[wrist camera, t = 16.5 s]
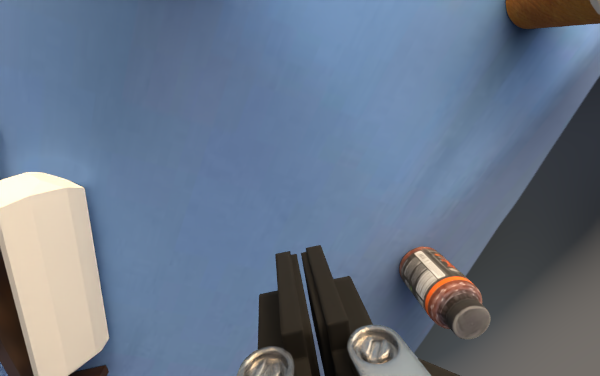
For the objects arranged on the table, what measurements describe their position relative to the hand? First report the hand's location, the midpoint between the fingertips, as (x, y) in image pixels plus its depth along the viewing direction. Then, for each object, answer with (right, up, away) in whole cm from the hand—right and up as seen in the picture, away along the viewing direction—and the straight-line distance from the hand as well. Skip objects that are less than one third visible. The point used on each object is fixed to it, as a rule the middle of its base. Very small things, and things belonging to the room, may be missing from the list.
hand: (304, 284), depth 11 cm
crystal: (-27, -6, +25) cm, 38 cm away
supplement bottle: (+16, -7, +30) cm, 35 cm away
